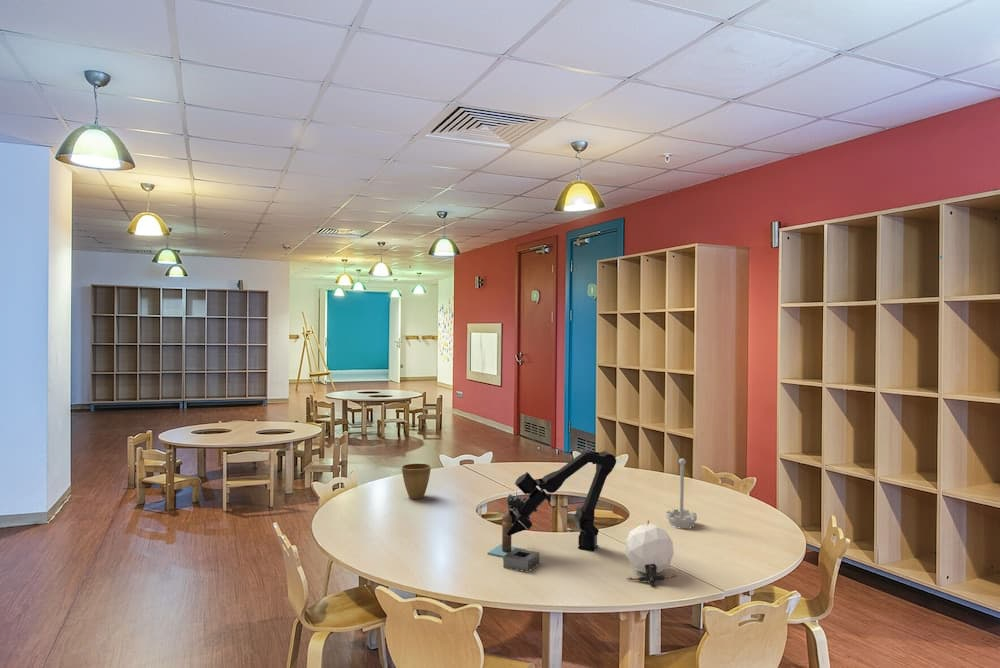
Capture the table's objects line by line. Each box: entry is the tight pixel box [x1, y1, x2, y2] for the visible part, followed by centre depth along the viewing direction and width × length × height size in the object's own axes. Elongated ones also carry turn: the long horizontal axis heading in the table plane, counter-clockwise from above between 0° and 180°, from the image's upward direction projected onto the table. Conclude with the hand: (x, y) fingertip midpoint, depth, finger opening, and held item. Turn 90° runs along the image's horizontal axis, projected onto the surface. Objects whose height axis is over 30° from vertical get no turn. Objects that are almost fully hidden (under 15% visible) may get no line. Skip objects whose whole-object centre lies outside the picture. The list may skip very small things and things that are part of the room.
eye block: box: [502, 547, 541, 572], centre depth 239 cm, size 10×10×4 cm
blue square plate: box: [486, 543, 526, 558], centre depth 252 cm, size 11×11×1 cm
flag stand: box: [666, 458, 698, 529], centre depth 289 cm, size 13×13×30 cm
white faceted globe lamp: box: [625, 520, 678, 586], centre depth 230 cm, size 17×25×24 cm
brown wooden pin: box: [501, 513, 513, 552], centre depth 252 cm, size 4×4×14 cm
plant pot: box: [401, 463, 432, 500], centre depth 330 cm, size 15×15×16 cm
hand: (505, 531), depth 252 cm, fingers open, 9 cm apart
